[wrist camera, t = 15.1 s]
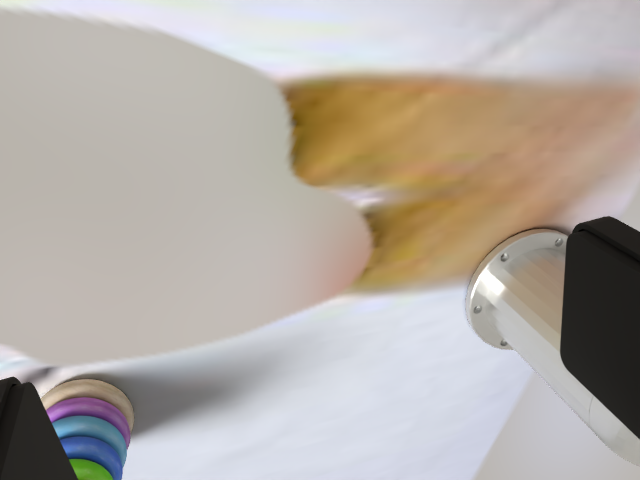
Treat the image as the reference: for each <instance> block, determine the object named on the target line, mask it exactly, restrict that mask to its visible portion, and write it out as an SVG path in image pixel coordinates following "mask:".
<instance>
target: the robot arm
mask: <svg viewBox="0 0 640 480" xmlns="http://www.w3.org/2000/svg"><path fill="white" fill-rule="evenodd" d="M465 310H466V315H467V320H468V322H469V324H470V326H471V328H472V329H473V330H474V332H475V333H476V334H477V335H478V336H479V337H480V338H481V339H482V340H483V341H484V342H485V343H487V344H489V345H491V346H492V347H495V348H499V349H505V350H515V351H516V352H517V353H518V354H519V355H520V356H521V357H522V358H523V359H524V361H525V362H526V363H527V364H528V365H529V366H530V367H531V368H532V369H533V370H534V371H535V372H536V373H537V374H538V375H539V376H540V377H541V378H542V379H543V380H544V381H545V382H546V383H547V384H548V385H549V386H550V388H551V389H552V390H553V391H554V392H556V394H557V395H558V396H559V397H560V398H561V399H562V400H563V401H564V402H565V403H566V404H567V405H568V406H569V407H570V408H571V409H572V410H573V411H574V412H575V413H576V414H577V415H578V417H579V418H580V419H581V420H582V421H583V422H584V423H585V424H586V425H587V426H588V427H589V428H590V429H591V430H592V431H593V432H594V433H595V434H596V435H597V436H598V438H599V439H600V440H601V441H602V442H603V443H604V444H605V445H606V446H608V447H609V448H610V449H611V450H612V451H613V452H614V453H616V454H617V455H619V456H620V457H622V458H623V459H625V460H627V461H629V462H631V463H633V464H635V465H638V466H640V232H639V231H637V230H635V229H633V228H632V227H630V226H628V225H626V224H624V223H622V222H621V221H619V220H617V219H615V218H613V217H610V216H607V217H602V218H598V219H594V220H591V221H587V222H583V223H580V224H578V225H576V226H575V228H574V230H573V233H572V234H571V235H569V236H567V235H565V234H564V233H561V232H558V231H556V230H550V229H534V230H529V231H526V232H522V233H519V234H517V235H515V236H513V237H511V238H509V239H507V240H506V241H504V242H503V243H501V244H500V245H498V246H497V247H496V248H495V249H494V250H492V251H491V252H490V253H489V254H488V255H487V256H486V258H485V259H484V260H483V261H482V262H481V264H480V265H479V266H478V268H477V270H476V271H475V273H474V275H473V276H472V279H471V281H470V284H469V286H468V290H467V295H466V305H465ZM0 480H78V478H77V476H76V474H75V472H74V469H73V467H72V465H71V463H70V461H69V459H68V457H67V454H66V452H65V450H64V448H63V446H62V444H61V442H60V440H59V437H58V435H57V433H56V431H55V429H54V427H53V425H52V422H51V420H50V418H49V416H48V414H47V412H46V410H45V407H44V405H43V403H42V401H41V399H40V397H39V395H38V393H37V390H36V389H35V387H34V385H33V384H32V383H30V382H27V383H24V384H21V383H20V381H19V380H18V379H17V378H15V377H10V378H6V379H2V380H0Z"/></svg>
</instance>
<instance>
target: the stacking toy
mask: <svg viewBox="0 0 640 480" xmlns="http://www.w3.org/2000/svg"><path fill="white" fill-rule="evenodd" d="M41 401H42V403H43V405H44V407H45V410H46V412H47V414H48V416H49V418H50V420H51V422H52V425H53V427H54V429H55V431H56V433H57V435H58V437H59V440H60V442H61V444H62V446H63V448H64V450H65V452H66V454H67V457H68V459H69V461H70V463H71V465H72V467H73V469H74V472H75V474H76V476H77V478H78V480H121V479H122V472H123V471H122V469H123V467H124V464H125V461H126V456H127V449H128V446H129V443H130V434H131V432H132V429H133V425H134V412H133V408H132V405H131V403H130V401H129V399H128V398H127V397H126V395H125V394H124V393H123V392H122V391H120V390H119V389H118V388H116V387H114V386H113V385H111V384H108V383H106V382H103V381H99V380H92V379H80V380H73V381H69V382H66V383H63V384H61V385H58V386H56V387H55V388H53V389H51V390H50V391H49V392H47V393H46V394H45V395H44V396H43V397H42V398H41Z"/></svg>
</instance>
